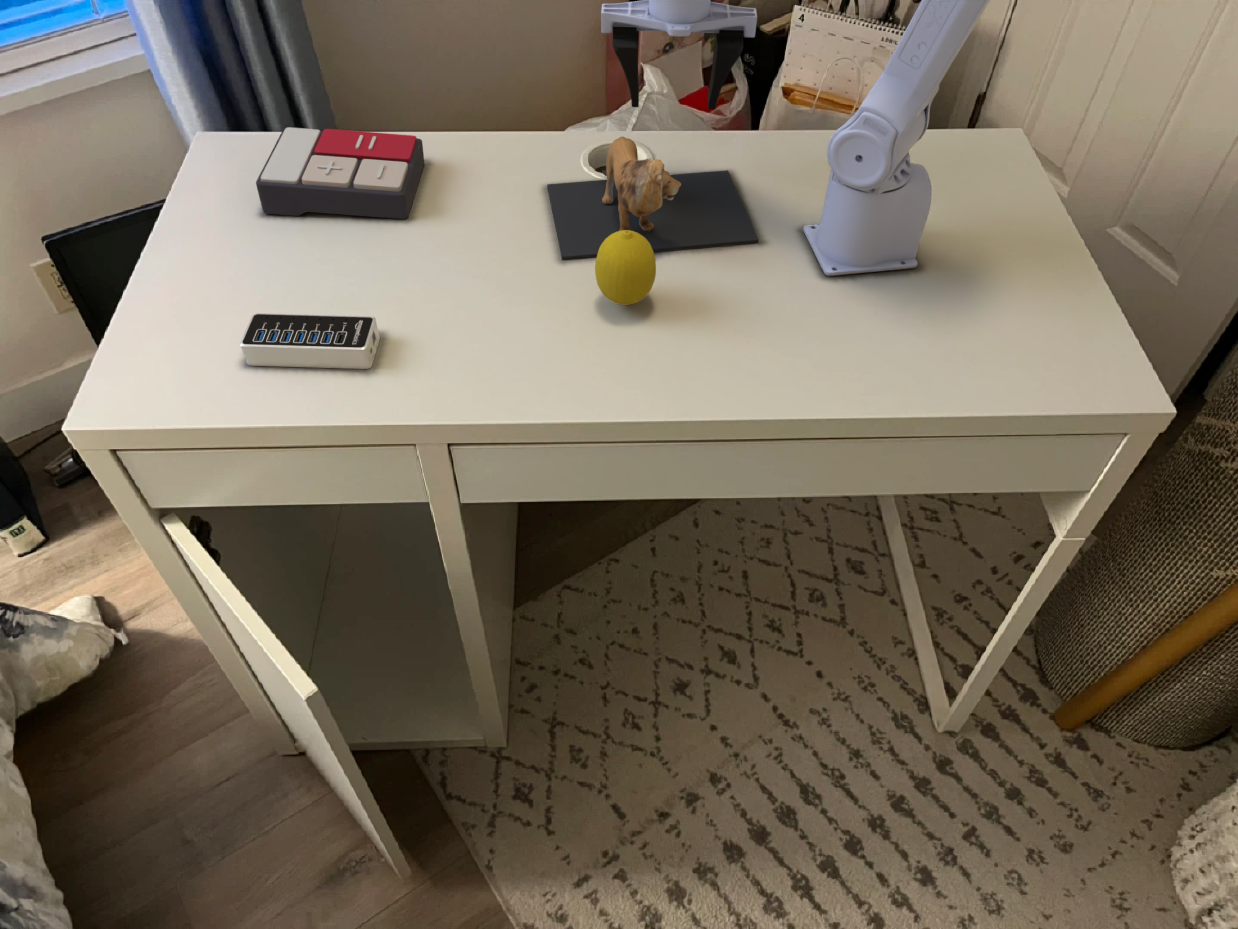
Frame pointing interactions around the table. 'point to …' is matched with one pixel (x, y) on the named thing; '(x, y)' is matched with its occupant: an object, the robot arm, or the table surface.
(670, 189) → the lion figurine
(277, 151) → the button control box
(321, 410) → the table surface
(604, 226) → the desk mat
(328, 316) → the multiport hub
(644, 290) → the lemon
